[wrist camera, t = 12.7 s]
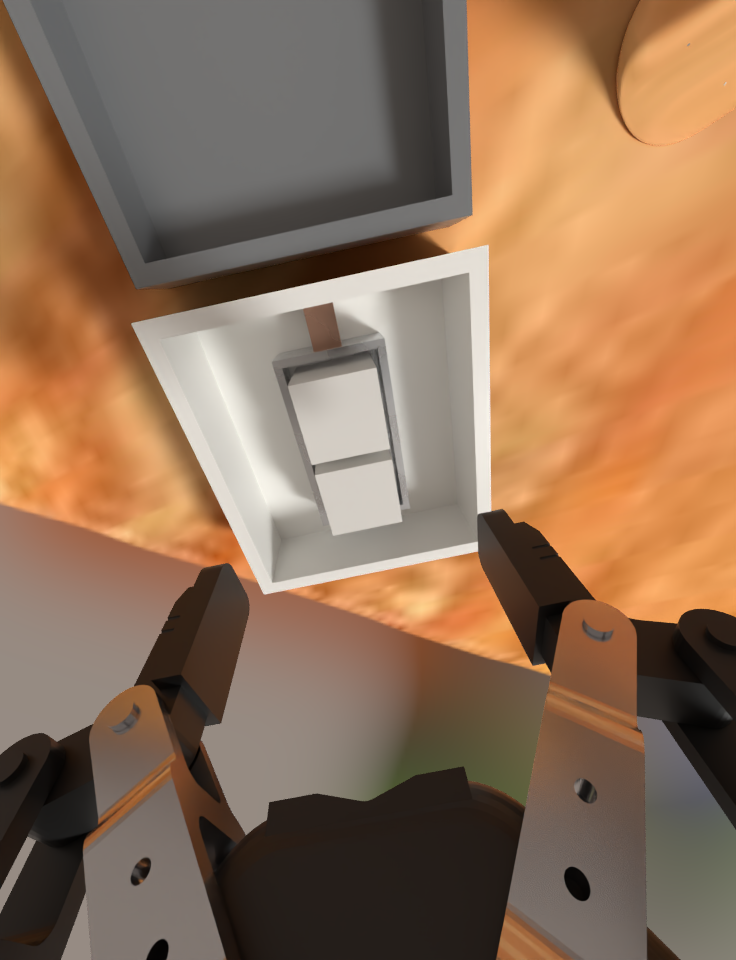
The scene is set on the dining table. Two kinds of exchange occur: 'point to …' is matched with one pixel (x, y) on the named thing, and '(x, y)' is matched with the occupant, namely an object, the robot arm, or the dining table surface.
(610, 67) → the dining table surface
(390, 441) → the scoop
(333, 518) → the off-white cube
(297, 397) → the light grey cube block
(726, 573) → the dining table surface
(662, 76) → the silver metal goblet
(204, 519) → the dining table surface
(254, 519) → the bin
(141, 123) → the tray
